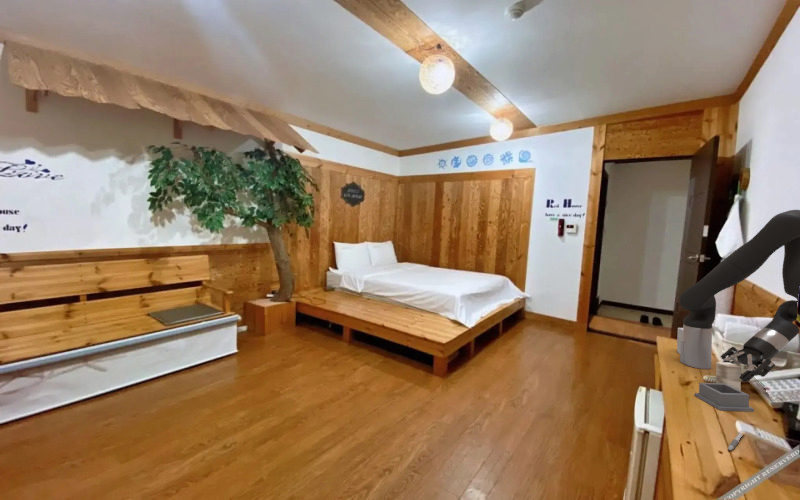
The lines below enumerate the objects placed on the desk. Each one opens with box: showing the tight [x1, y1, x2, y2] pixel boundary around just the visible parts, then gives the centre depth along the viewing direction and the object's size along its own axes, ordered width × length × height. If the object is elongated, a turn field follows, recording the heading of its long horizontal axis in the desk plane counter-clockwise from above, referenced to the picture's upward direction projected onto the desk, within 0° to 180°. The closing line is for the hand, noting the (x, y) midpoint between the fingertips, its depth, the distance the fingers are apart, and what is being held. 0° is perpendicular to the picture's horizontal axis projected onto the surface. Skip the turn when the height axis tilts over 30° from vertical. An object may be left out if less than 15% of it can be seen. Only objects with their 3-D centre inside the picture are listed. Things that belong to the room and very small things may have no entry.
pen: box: [727, 432, 743, 451], centre depth 88 cm, size 1×14×1 cm, turn 123°
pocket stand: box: [694, 382, 755, 413], centre depth 109 cm, size 10×10×5 cm
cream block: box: [715, 361, 742, 391], centre depth 117 cm, size 4×4×10 cm
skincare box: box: [676, 327, 683, 355], centre depth 155 cm, size 6×4×12 cm
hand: (730, 374), depth 116 cm, fingers open, 8 cm apart
